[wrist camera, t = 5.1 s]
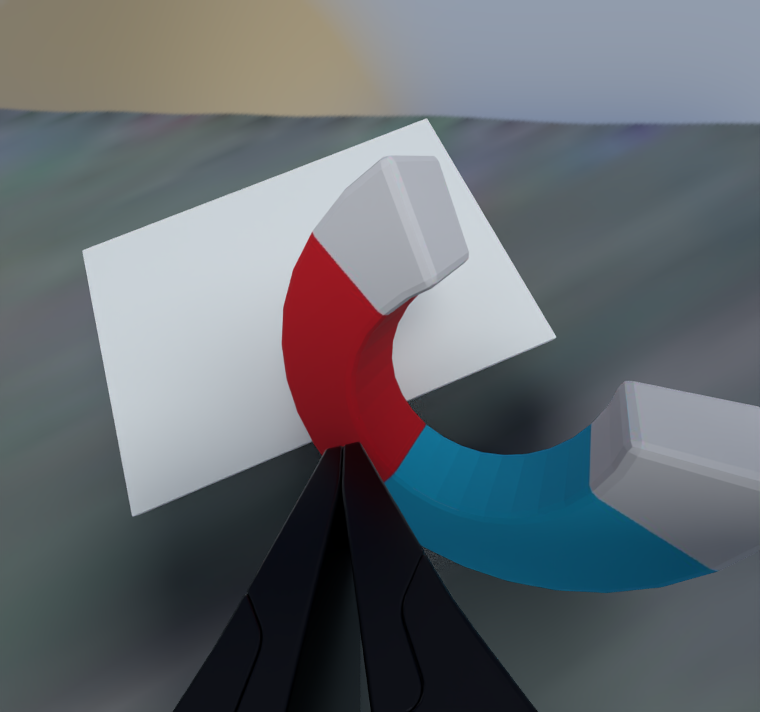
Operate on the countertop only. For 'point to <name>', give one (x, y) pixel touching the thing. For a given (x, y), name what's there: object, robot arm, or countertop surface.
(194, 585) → the countertop surface
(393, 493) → the magnet
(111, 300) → the white paper sheet
